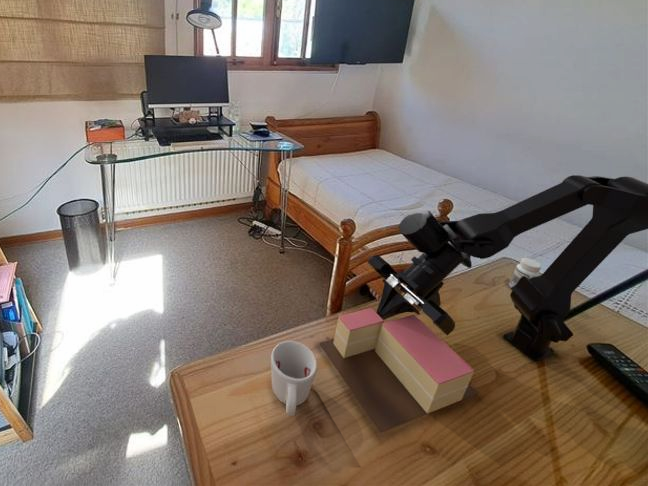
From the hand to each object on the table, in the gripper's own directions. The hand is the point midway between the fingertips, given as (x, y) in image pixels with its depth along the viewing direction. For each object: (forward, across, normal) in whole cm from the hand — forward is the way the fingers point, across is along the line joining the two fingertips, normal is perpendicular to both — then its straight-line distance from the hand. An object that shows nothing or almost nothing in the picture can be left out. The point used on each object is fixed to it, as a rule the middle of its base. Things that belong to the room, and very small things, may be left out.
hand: (376, 319), depth 69 cm
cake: (+2, -9, -6) cm, 11 cm away
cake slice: (+7, 0, -1) cm, 7 cm away
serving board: (+5, -6, -5) cm, 9 cm away
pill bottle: (-31, +3, -41) cm, 51 cm away
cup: (+21, -5, +10) cm, 24 cm away
